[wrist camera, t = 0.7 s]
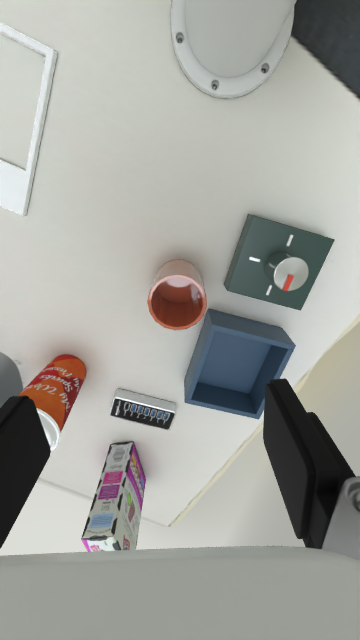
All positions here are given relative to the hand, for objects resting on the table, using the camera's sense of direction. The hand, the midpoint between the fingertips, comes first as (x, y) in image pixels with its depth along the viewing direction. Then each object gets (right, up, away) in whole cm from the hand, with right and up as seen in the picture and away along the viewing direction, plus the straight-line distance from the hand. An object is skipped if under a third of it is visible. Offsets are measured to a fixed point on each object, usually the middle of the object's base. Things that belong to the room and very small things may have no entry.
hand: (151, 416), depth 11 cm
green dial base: (+14, +12, +28) cm, 34 cm away
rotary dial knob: (+14, +11, +25) cm, 31 cm away
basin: (+9, -2, +34) cm, 35 cm away
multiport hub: (-5, -11, +38) cm, 40 cm away
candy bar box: (-9, -25, +44) cm, 51 cm away
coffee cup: (-18, -4, +36) cm, 40 cm away
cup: (+1, +9, +29) cm, 31 cm away
